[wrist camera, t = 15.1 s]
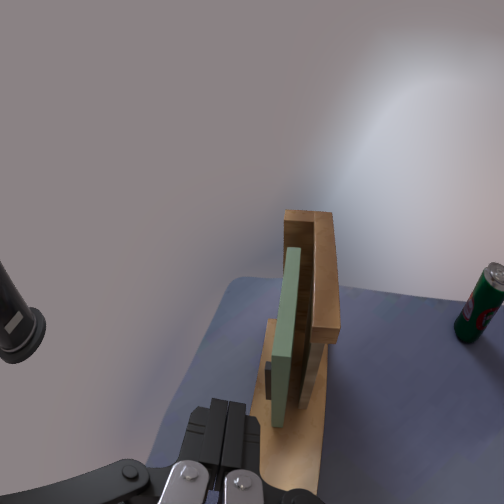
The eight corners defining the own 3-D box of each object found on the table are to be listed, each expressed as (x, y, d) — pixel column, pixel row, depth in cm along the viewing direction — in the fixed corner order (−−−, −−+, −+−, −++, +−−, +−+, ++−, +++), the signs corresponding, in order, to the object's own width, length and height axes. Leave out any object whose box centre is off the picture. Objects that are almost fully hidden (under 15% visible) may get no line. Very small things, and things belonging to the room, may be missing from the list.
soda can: (455, 315, 36) (486, 255, 29) (479, 326, 34) (513, 269, 26) (449, 337, 33) (485, 276, 26) (475, 349, 31) (515, 291, 23)
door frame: (231, 504, 20) (176, 493, 8) (268, 325, 39) (264, 198, 27) (311, 513, 19) (372, 512, 7) (326, 329, 38) (348, 203, 26)
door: (264, 426, 26) (259, 354, 17) (278, 343, 34) (279, 246, 25) (282, 428, 26) (291, 357, 16) (293, 344, 34) (301, 247, 25)
